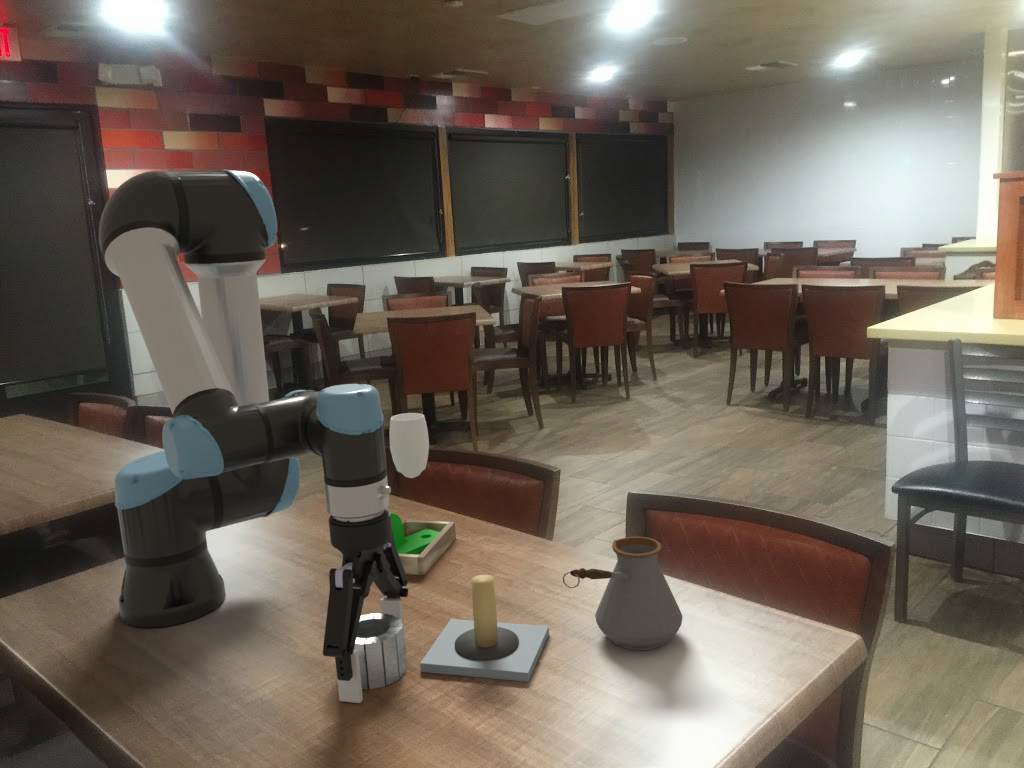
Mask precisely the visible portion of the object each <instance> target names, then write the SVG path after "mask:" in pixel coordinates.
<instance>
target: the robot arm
mask: <svg viewBox="0 0 1024 768" xmlns="http://www.w3.org/2000/svg"><path fill="white" fill-rule="evenodd" d="M276 213H277V212H276V209H275V206H274V201H273V199H272V197H271V193H270V192H269V190H268V188H267V187H266V186H265V184H264V182H263V181H262V180H261V179H260V177H258V176H257V175H256V174H254V173H252V172H250V171H244V170H243V171H242V170H240V171H239V170H230V169H229V170H228V169H225V168H224V169H220V170H218V169H216V170H215V169H213V170H171V171H170V170H168V171H166V170H165V171H164V170H152V171H151V170H150V171H145V172H141V173H139V174H136V175H134V176H132V177H130V178H128V179H126V180H125V181H124V182H122V183H121V184H120V185H119V186H118V187H117V189H115V190H114V192H113V193H112V194H111V196H110V197H109V198H108V200H107V201H106V204H105V206H104V208H103V210H102V213H101V217H100V220H99V225H98V226H99V227H98V243H99V248H100V252H101V254H102V257H103V260H104V263H105V264H106V267H107V268H108V270H109V271H110V272H111V273H112V274H114V275H115V276H117V277H119V279H120V282H121V284H122V287H123V289H124V292H125V294H126V296H127V297H126V298H127V300H128V302H129V305H130V307H131V310H132V313H133V315H134V317H135V321H136V323H137V326H138V329H139V330H140V333H141V336H142V338H143V342H144V344H145V346H146V349H147V352H148V354H149V356H150V359H151V362H152V364H153V367H154V370H155V372H156V375H157V377H158V380H159V383H160V386H161V388H162V390H163V393H164V396H165V398H166V400H167V401H166V402H167V403H168V406H169V408H170V411H171V413H172V416H173V417H172V418H169V419H168V420H166V421H165V422H164V424H163V427H162V431H161V433H162V434H161V437H162V439H161V440H162V447H163V450H161V451H157V452H153V453H150V454H147V455H144V456H141V457H139V458H137V459H135V460H133V461H130V462H128V463H127V464H125V465H124V466H123V467H122V468H121V469H119V471H118V472H117V473H116V475H115V478H114V498H115V499H114V506H115V507H116V510H117V516H118V522H119V528H120V535H121V536H120V537H121V541H122V547H123V555H124V563H125V568H124V574H123V578H122V582H121V583H122V584H121V588H120V594H119V599H118V609H119V617H120V619H121V621H122V622H124V624H127V625H128V626H129V625H130V626H132V627H135V628H136V627H137V628H161V627H167V626H168V627H169V626H174V625H178V624H182V623H186V622H190V621H193V620H195V619H198V618H200V617H203V616H205V615H207V614H209V613H211V612H212V611H214V610H215V609H216V608H217V607H219V606H221V604H222V603H223V602H224V600H225V598H226V595H227V594H226V588H225V581H224V578H223V577H222V575H221V574H220V572H219V570H218V568H217V565H216V564H215V562H214V560H213V557H212V555H211V554H210V552H209V548H208V542H207V532H209V531H212V530H217V529H220V528H224V527H228V526H232V525H235V524H240V523H243V522H247V521H251V520H255V519H259V518H267V517H268V518H269V516H271V515H274V514H276V513H279V512H282V511H285V510H287V509H288V508H290V507H291V506H292V504H294V502H295V500H296V498H297V496H298V493H299V490H300V486H301V468H300V467H301V466H300V460H299V458H298V457H299V456H304V455H307V454H308V455H309V454H315V455H317V456H319V457H321V459H322V468H323V479H324V480H323V481H324V485H325V486H324V488H325V489H324V490H325V499H326V511H327V513H328V514H329V515H330V516H329V517H328V528H329V537H330V538H329V539H330V544H331V545H332V547H333V548H334V549H335V550H338V551H339V552H340V553H341V554H342V564H341V567H339V568H333V567H331V568H330V570H329V575H328V576H329V578H328V579H329V581H328V582H329V594H328V604H327V611H326V620H325V629H324V638H323V644H322V645H323V646H322V656H324V657H329V658H330V657H331V658H334V660H335V661H334V663H335V671H336V681H337V689H338V691H337V692H338V698H339V699H338V701H339V702H345V703H346V702H347V703H354V704H361V703H362V702H363V700H364V697H363V689H362V685H361V675H360V665H359V655H358V650H357V649H354V646H355V641H356V636H357V631H358V626H359V621H360V617H361V615H362V610H363V606H364V602H365V599H366V598H367V597H369V595H370V591H371V586H372V585H373V583H374V584H375V586H376V587H377V589H379V591H380V593H381V594H382V595H383V596H384V597H381V598H380V600H379V601H380V609H381V610H380V611H381V614H389V615H393V616H395V617H397V618H399V619H400V620H401V623H402V626H403V637H404V646H405V645H406V638H405V637H406V635H405V625H404V614H403V613H404V612H403V604H402V598H407V597H408V595H409V588H407V586H408V583H409V582H408V581H409V580H408V577H407V574H405V571H404V568H403V565H402V563H401V560H400V557H399V554H398V551H397V549H396V546H395V541H394V534H393V531H392V523H391V513H392V512H391V511H390V510H389V508H388V507H389V506H390V494H391V492H392V488H391V486H390V485H389V484H388V475H387V474H388V473H387V456H386V443H385V429H384V428H385V427H384V421H385V419H384V417H385V416H384V414H383V413H384V412H383V410H382V406H381V398H380V393H379V391H378V389H377V388H376V387H375V386H373V385H370V384H368V383H367V384H365V383H361V384H359V383H346V384H345V383H344V384H337V385H331V386H329V387H325V388H323V389H321V390H320V391H316V390H313V389H307V390H306V389H297V390H293V391H290V392H288V393H287V394H285V395H284V396H282V397H281V398H278V399H274V400H270V394H269V393H270V392H269V385H268V377H267V374H268V373H267V365H266V357H265V356H266V355H265V353H266V352H265V346H264V335H263V324H262V316H261V315H262V314H261V305H260V304H261V303H260V295H259V294H260V293H259V286H258V283H259V282H258V275H257V273H258V270H260V268H261V267H262V266H263V264H264V263H265V262H266V250H267V249H269V248H270V247H273V246H274V245H275V243H276V241H277V233H278V218H277V214H276ZM180 254H183V261H184V266H185V267H186V268H188V269H189V270H190V271H191V272H192V273H194V274H195V276H196V278H197V285H198V295H199V303H200V304H199V305H200V310H201V311H199V309H198V307H197V304H196V302H195V299H194V296H193V295H192V293H191V290H190V287H189V286H188V283H187V281H186V278H185V276H184V273H183V271H182V269H181V266H180V264H179V261H178V258H179V255H180ZM200 313H201V314H200ZM405 587H406V588H405Z"/></svg>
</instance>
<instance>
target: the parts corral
mask: <svg viewBox="0 0 1024 768" xmlns="http://www.w3.org/2000/svg"><path fill="white" fill-rule="evenodd" d="M401 521H402V525H403V532H404V537H407V536H409V535H412V534H414V533H417V532H419V531H422V530H424V529H431V530H434V531H437V532H440V533H439V534H438V535H437V536H436V537H435V538H434V539H433V540H432V542H431V543H430V544H429V545H428V546H427V547H426V548H425V549H424V550H423V551H422V553H421V554H420V555H415V554H399V557H400V560H401V563H402V565H403V568H404V571H405V574H406V575H416V576H417V575H419V576H425V575H426V574H427V573H428V572H429V571H430V570H431V568H432V567H433V566H434V564H435V563H436V562H437V561H438V560H439V558H440V557H441V556H442V555H443V554H444V553H445V552H446V551H447V549H448V548H449V547H450V545H451V544H452V543H453V542H454V541H455V540H456V538H457V537H456V534H457V533H456V522H455V521H441V520H439V521H437V520H422V519H421V520H419V519H417V520H416V519H415V520H414V519H401Z"/></svg>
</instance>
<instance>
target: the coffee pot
mask: <svg viewBox="0 0 1024 768" xmlns="http://www.w3.org/2000/svg"><path fill="white" fill-rule="evenodd" d="M611 544H612V545H611V548H612V550H613V552H614V553H615V554H616V558H617V562H616V563H615V566H614V567H613V571H609V570H603V569H597V568H589V569H586V568H584V567H581V568H579V569H577V568H575V569H573V570H571V571H569V572H566V573H564V574H563V577H562V582H563V584H564V585H565V586H566V587H567V588H568V589H574V588H576V587H578V586H579V585H580V582H581V580H584V579H586V578H587V579H590V580H602V579H604V580H605V579H609V581H608V583H607V585H606V588H605V590H604V592H603V595H602V597H601V599H600V602H599V604H598V607H597V609H596V611H595V615H594V617H595V621H596V625H597V626H598V628H599V629H600V631H601V633H602V634H604V635H605V636H606V637H607V638H608V639H610V640H611V641H612V643H613V644H615V645H617V646H618V647H621V648H623V649H627V650H633V651H649V650H654V649H657V648H659V647H660V648H661V647H662V646H663V645H665V644H666V643H667V642H668V641H670V639H672V638H673V637H674V636H675V635H676V634H677V632H678V631H680V628H681V626H682V624H683V623H682V622H683V618H684V617H683V614H682V612H681V609H680V606H679V605H678V603H677V600H676V599H675V596H674V594H673V591H672V590H671V587H670V585H669V582H668V581H667V579H666V577H665V575H664V573H663V571H662V569H661V566H660V565H659V562H658V556H659V553H660V552H661V551H662V549H663V547H662V544H661V542H659V541H658V540H656V539H654V538H651V537H646V536H629V537H623V538H618V539H615V540H613V542H612V543H611ZM568 574H570V576H573V577H575V578H577V584H576V585H574V586H569V585H568V584H567V583H566V581H565V578H566V575H568ZM580 579H581V580H580Z"/></svg>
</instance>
